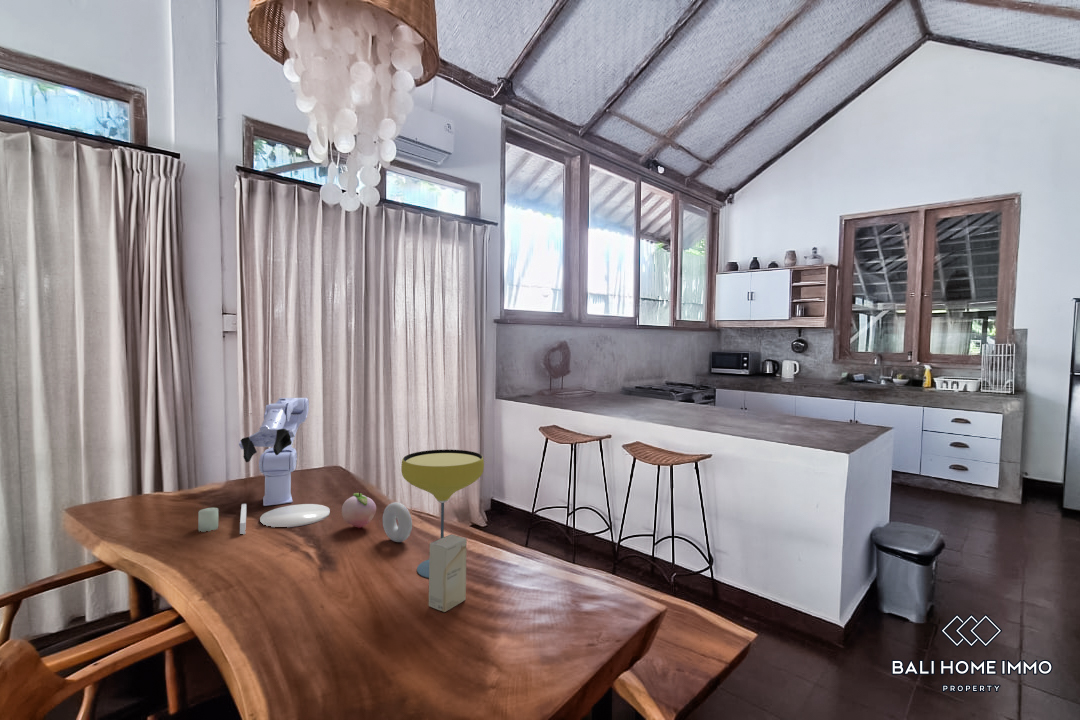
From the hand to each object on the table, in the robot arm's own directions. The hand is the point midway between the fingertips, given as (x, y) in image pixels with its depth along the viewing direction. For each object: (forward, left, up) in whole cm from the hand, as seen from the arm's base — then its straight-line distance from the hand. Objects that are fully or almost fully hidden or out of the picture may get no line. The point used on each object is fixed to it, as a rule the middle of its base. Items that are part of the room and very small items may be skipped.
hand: (261, 455), depth 133 cm
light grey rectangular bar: (-3, -4, -19) cm, 20 cm away
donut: (+29, +30, -19) cm, 46 cm away
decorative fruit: (+15, +23, -19) cm, 34 cm away
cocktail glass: (+49, +35, -19) cm, 63 cm away
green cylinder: (-3, -12, -19) cm, 23 cm away
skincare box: (+64, +31, -19) cm, 74 cm away
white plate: (-3, +9, -19) cm, 21 cm away
